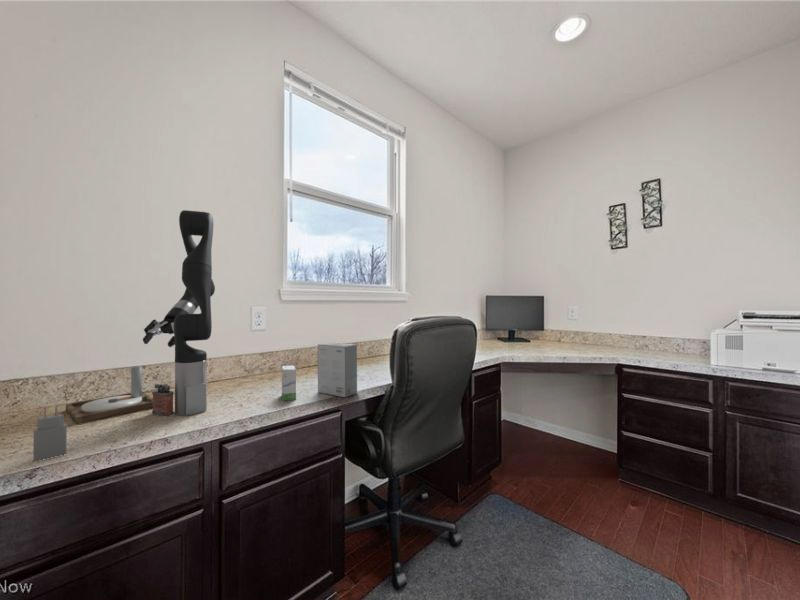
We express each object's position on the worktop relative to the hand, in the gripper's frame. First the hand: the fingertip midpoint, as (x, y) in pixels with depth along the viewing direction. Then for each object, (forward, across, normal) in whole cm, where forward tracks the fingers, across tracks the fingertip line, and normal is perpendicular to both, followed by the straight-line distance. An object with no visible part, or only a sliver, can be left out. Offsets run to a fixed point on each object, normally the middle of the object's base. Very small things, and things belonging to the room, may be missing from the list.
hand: (157, 344), depth 120 cm
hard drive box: (+1, +66, +16) cm, 68 cm away
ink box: (+6, +48, +15) cm, 51 cm away
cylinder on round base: (+18, -9, +14) cm, 24 cm away
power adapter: (+45, +4, -10) cm, 46 cm away
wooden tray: (+18, -9, +15) cm, 25 cm away
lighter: (+22, +12, +8) cm, 26 cm away
